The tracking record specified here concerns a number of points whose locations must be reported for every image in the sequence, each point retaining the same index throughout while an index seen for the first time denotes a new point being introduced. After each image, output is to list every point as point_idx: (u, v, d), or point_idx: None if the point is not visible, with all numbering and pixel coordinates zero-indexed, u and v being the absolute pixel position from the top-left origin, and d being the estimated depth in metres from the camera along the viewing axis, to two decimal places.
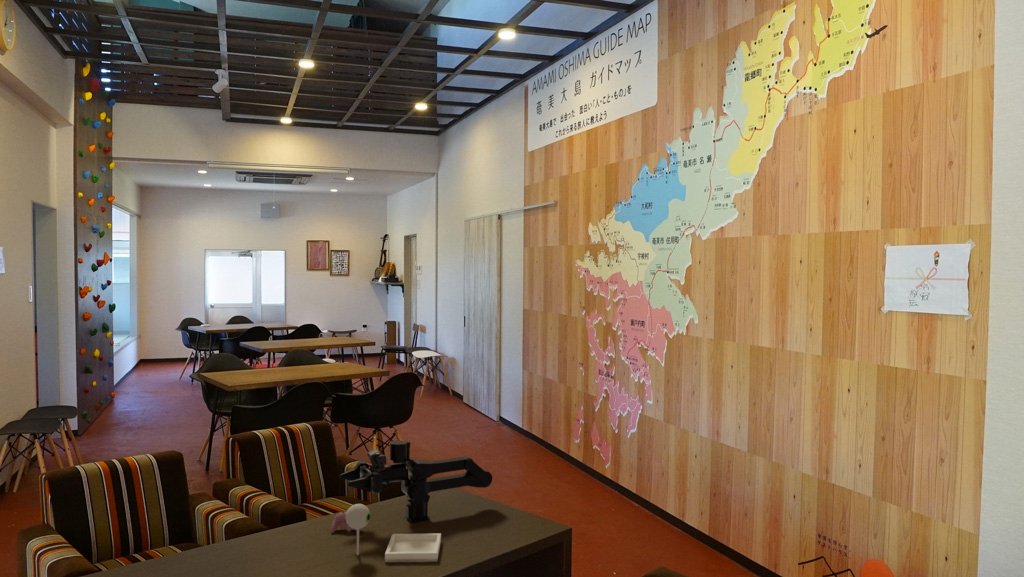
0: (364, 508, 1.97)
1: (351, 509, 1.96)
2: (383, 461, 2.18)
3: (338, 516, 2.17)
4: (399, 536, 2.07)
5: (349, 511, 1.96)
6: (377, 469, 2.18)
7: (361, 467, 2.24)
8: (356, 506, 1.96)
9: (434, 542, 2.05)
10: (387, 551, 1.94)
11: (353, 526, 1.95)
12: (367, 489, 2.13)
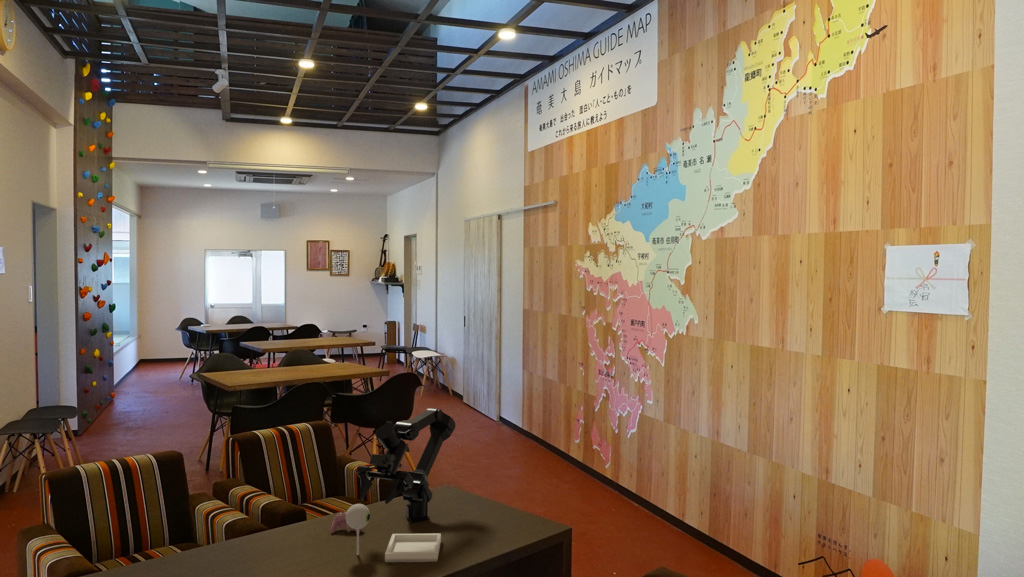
0: (364, 508, 1.97)
1: (351, 509, 1.96)
2: (393, 458, 2.07)
3: (338, 516, 2.17)
4: (399, 536, 2.07)
5: (349, 511, 1.96)
6: (391, 467, 2.08)
7: (366, 474, 2.11)
8: (356, 506, 1.96)
9: (434, 542, 2.05)
10: (387, 551, 1.94)
11: (353, 526, 1.95)
12: (401, 489, 2.07)
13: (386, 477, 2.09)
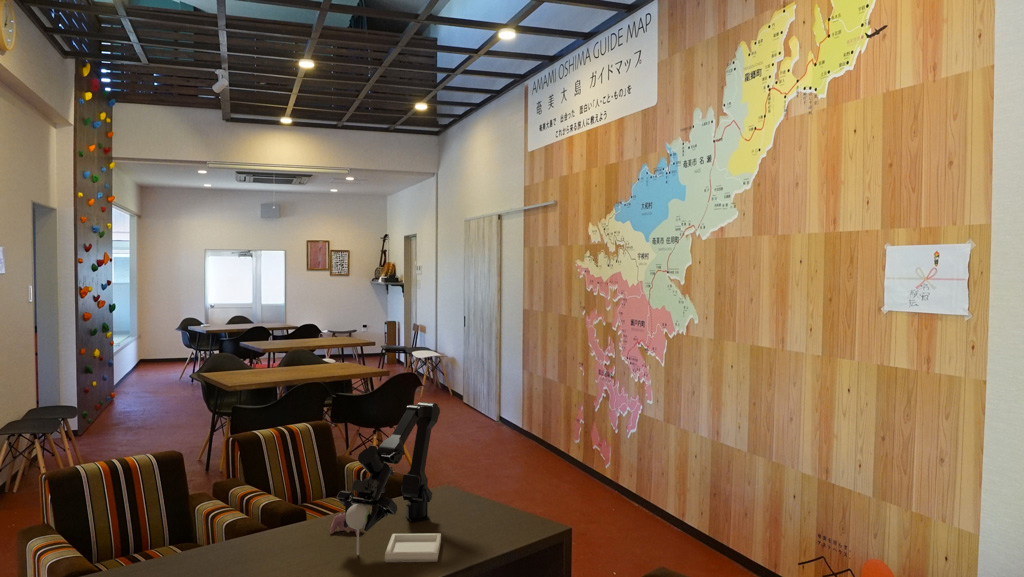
0: (364, 508, 1.96)
1: (351, 509, 1.96)
2: (376, 484, 1.99)
3: (337, 517, 2.16)
4: (399, 536, 2.07)
5: (349, 511, 1.96)
6: (373, 493, 2.00)
7: None
8: (356, 506, 1.96)
9: (434, 542, 2.05)
10: (387, 551, 1.94)
11: (353, 526, 1.95)
12: (381, 516, 1.99)
13: (366, 503, 2.01)
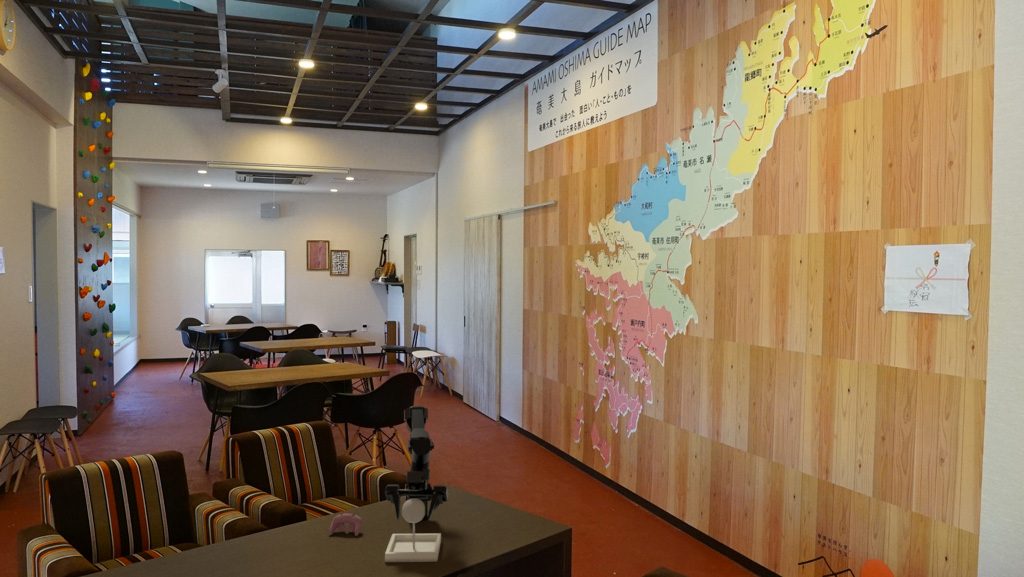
0: (421, 501, 2.00)
1: (410, 504, 1.98)
2: (429, 473, 2.03)
3: (336, 518, 2.15)
4: (399, 536, 2.07)
5: (408, 506, 1.98)
6: (425, 483, 2.04)
7: None
8: (414, 500, 1.99)
9: (434, 542, 2.05)
10: (387, 551, 1.94)
11: (414, 520, 1.97)
12: (437, 504, 2.04)
13: (420, 493, 2.04)
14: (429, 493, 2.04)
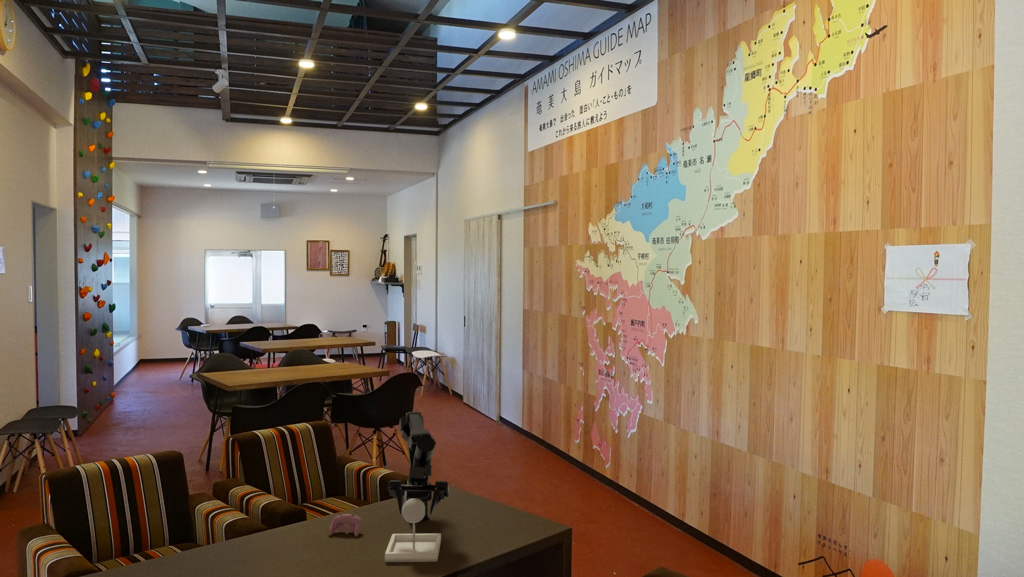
0: (421, 501, 2.00)
1: (410, 504, 1.98)
2: (431, 469, 2.08)
3: (336, 518, 2.15)
4: (399, 536, 2.07)
5: (408, 506, 1.98)
6: (427, 478, 2.09)
7: None
8: (414, 500, 1.99)
9: (434, 542, 2.05)
10: (387, 551, 1.94)
11: (414, 520, 1.97)
12: (439, 499, 2.09)
13: (422, 489, 2.09)
14: (431, 488, 2.09)
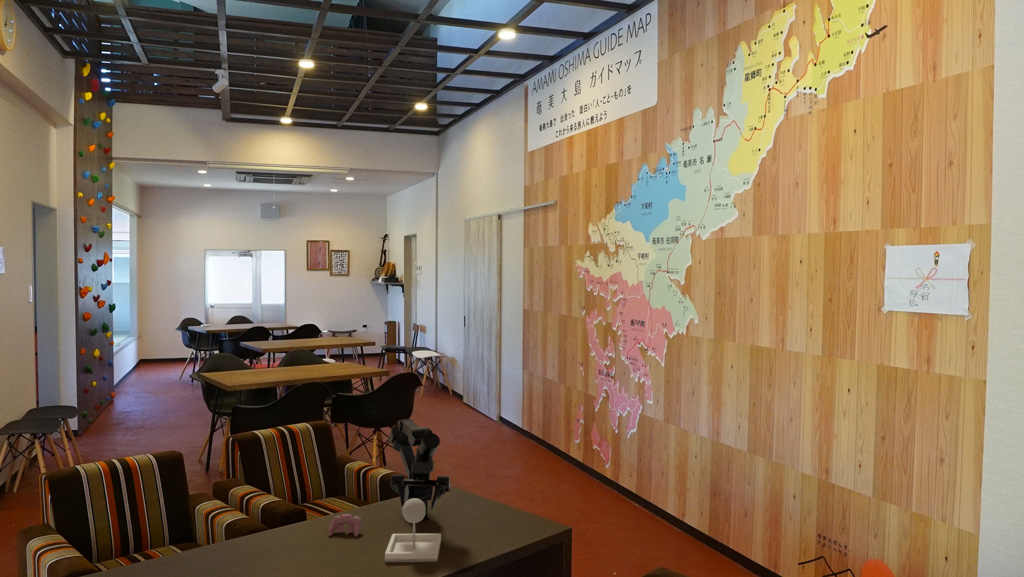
0: (421, 501, 2.00)
1: (410, 504, 1.98)
2: (433, 465, 2.12)
3: (336, 519, 2.15)
4: (399, 536, 2.07)
5: (409, 506, 1.98)
6: (429, 473, 2.13)
7: None
8: (414, 500, 1.99)
9: (434, 542, 2.05)
10: (387, 551, 1.94)
11: (414, 520, 1.97)
12: (440, 494, 2.14)
13: (423, 484, 2.14)
14: (432, 483, 2.14)
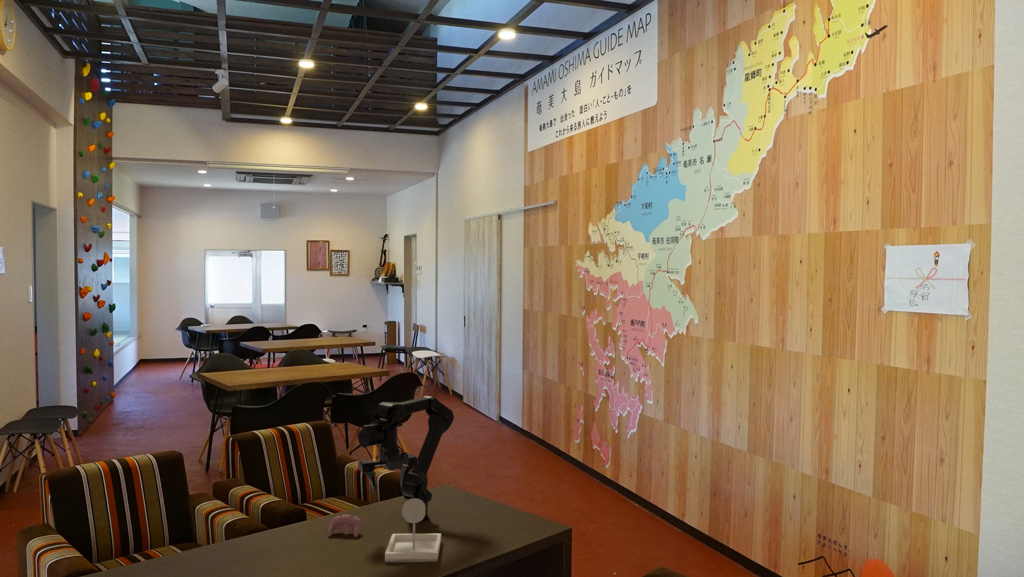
0: (421, 501, 2.00)
1: (410, 504, 1.98)
2: None
3: (335, 519, 2.14)
4: (399, 536, 2.07)
5: (409, 506, 1.98)
6: None
7: None
8: (414, 500, 1.99)
9: (434, 542, 2.05)
10: (387, 551, 1.94)
11: (414, 520, 1.97)
12: None
13: None
14: None
